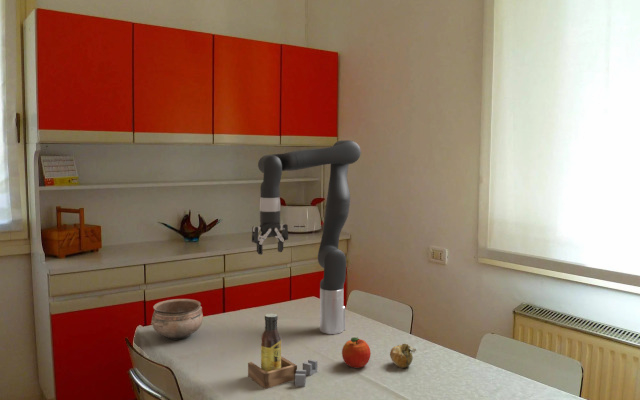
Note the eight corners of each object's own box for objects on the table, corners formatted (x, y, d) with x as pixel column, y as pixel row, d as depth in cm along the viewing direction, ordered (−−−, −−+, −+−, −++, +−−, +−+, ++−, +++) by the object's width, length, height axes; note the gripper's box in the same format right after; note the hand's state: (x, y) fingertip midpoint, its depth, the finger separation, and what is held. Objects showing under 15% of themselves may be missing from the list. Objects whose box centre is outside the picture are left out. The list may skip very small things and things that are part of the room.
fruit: (374, 362, 181) (375, 333, 180) (364, 373, 172) (365, 343, 171) (348, 357, 185) (348, 329, 184) (337, 367, 176) (337, 338, 175)
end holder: (278, 368, 176) (278, 354, 175) (297, 379, 167) (297, 365, 167) (248, 376, 169) (248, 362, 169) (265, 388, 161) (265, 374, 160)
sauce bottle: (277, 382, 165) (277, 319, 163) (258, 380, 166) (258, 317, 165) (283, 373, 172) (283, 312, 170) (264, 372, 173) (264, 311, 171)
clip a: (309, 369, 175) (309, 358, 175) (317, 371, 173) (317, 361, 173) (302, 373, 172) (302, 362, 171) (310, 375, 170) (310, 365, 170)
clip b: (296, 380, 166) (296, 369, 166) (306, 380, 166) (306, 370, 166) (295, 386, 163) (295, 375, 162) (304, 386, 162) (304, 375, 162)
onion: (407, 360, 183) (408, 337, 182) (416, 369, 175) (417, 345, 175) (386, 362, 182) (386, 339, 181) (394, 371, 174) (395, 347, 173)
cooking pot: (171, 351, 189) (170, 318, 188) (134, 341, 199) (133, 309, 198) (218, 331, 211) (218, 301, 210) (183, 323, 220) (183, 294, 219)
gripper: (258, 211, 190) (258, 256, 192) (291, 209, 199) (291, 252, 200) (248, 209, 196) (248, 253, 198) (281, 207, 205) (281, 249, 206)
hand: (270, 253), depth 199 cm, fingers open, 8 cm apart
